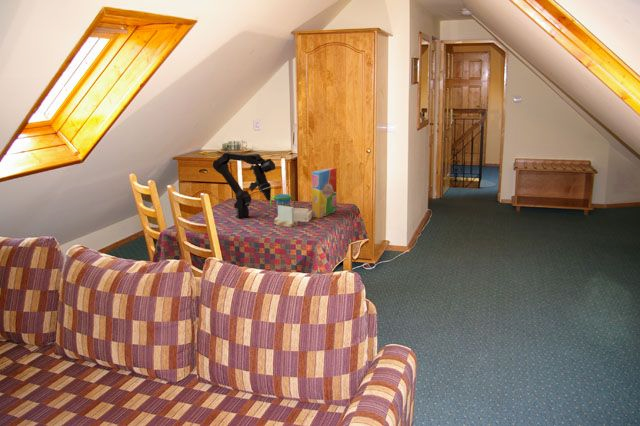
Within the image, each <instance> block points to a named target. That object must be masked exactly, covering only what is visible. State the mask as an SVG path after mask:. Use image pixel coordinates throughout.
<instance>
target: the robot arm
mask: <svg viewBox="0 0 640 426" xmlns="http://www.w3.org/2000/svg"><path fill="white" fill-rule="evenodd" d="M232 160H233V161H238V162H245V163H246V164H248V165H250V167H249V171H252V172H253V173H254V176H255V181H253V182H250V183H249V186H248V188H249V190H250V191H251V192H253V191H255V189H256V188H257V189H258V191H259V192H260V193H262V194H263V196H264V197H265V199H266V201H267V202H268V201H269V202H270V200H271V198H272V197H271V195H272V192H271V191H272V185H271V183H270V182H269V181H268V178H267V175H266V173H269V172H271V171H274V170H276V164H275V162H274V161H273V160H272V159H271V158H267V159H266V160H265V159H264V158H263V157H262V156H261V155H260V153H248V154H247V153H239V152H232V151H227V152H226V151H225V152H224V153H223V154H222V155H220V157H217V159H215V160H214V161H213V162H212V168H213V169H214V170H215V172H217V173H218V174H220V175H222V177H223V178H224V180H225V181H226V183H227V184H228V186H229V187H230V189H231V191H232V192H233V193H234V194H235V200H236V202H235V203H234V204H233V207H234V209H235V210H236V212H235V213H236V215H235V218H238V219H239V220H240V219H246V218H250V211H249V206H250V204H251V203H252V195H251V194H250V193H249V191H248V190H244V189H242V187H241V186H240V184H239V183H238V181H237V180H236V178H235V177H234V176H233V174H232V172H230V171H231V170H229V163H230V161H232Z"/></svg>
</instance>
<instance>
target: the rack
mask: <svg viewBox="0 0 640 426" xmlns="http://www.w3.org/2000/svg"><path fill="white" fill-rule="evenodd" d="M312 219H313V217H312V209H311V210H310V209H309V208H303V207H301V208H298V207H297V208H296V207H294V221H300V222H304V223H305V222H306V223H307V222H309V221H311V220H312ZM276 220H278V215H277V216H276V217H275V218H274V221H276Z"/></svg>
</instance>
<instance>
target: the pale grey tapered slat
mask: <svg viewBox="0 0 640 426" xmlns="http://www.w3.org/2000/svg"><path fill="white" fill-rule="evenodd" d="M294 208H295V207H293V206H290V207H288V206H282V205H279V206H278V212H277V216H278V221H284V222H290V223H293V225H294Z"/></svg>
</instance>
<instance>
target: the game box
mask: <svg viewBox="0 0 640 426" xmlns="http://www.w3.org/2000/svg"><path fill="white" fill-rule="evenodd" d="M311 197H312V198H311V204H312V205H311V210H312V218H315V217H316V219H317V218H318V219H320V218H323V216H324V217H325V216H328V214H329V215H330V213H331V214H333V212H334V213H336V212H337V206H338V205H337V203H338V202H337V201H338V200H337V199H338V198H337V168H336V167H327V168H323V169H319V170H314V171H312V172H311ZM335 211H336V212H335Z"/></svg>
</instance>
